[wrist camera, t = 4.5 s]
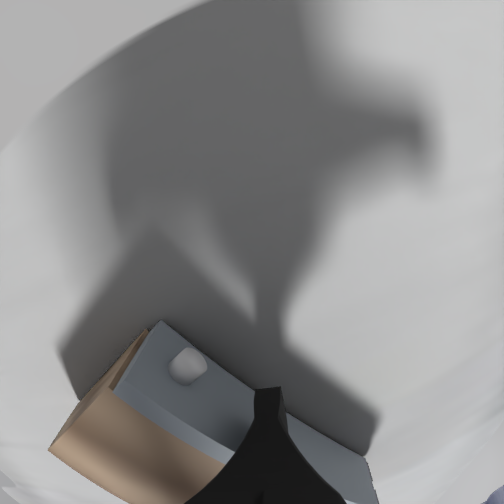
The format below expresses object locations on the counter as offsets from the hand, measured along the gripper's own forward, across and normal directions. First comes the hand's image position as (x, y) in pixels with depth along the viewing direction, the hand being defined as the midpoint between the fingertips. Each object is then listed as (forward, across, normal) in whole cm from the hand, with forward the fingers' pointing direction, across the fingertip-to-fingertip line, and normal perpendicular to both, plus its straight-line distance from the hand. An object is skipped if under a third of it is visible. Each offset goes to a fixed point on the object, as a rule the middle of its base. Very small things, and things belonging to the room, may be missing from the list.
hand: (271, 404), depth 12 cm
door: (+2, 0, +3) cm, 4 cm away
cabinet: (+2, +4, +6) cm, 8 cm away
